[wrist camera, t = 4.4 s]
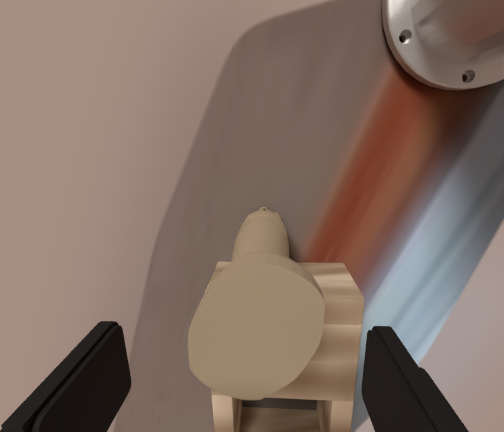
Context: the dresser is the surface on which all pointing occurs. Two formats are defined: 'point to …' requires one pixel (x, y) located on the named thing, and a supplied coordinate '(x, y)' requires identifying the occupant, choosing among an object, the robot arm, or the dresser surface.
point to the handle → (257, 316)
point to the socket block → (309, 369)
